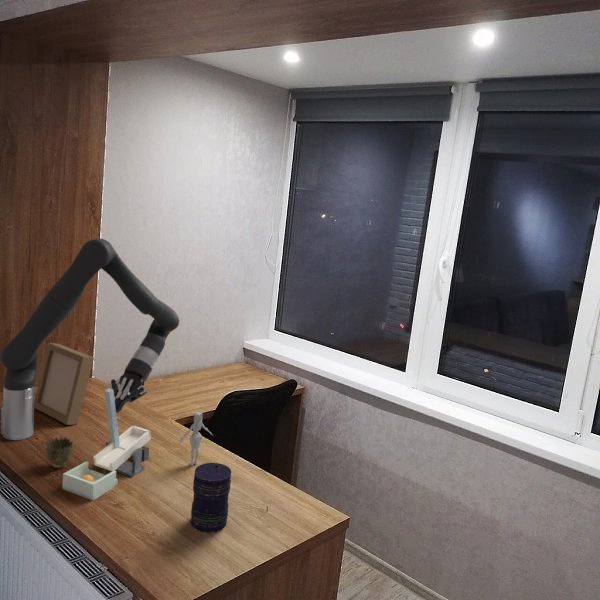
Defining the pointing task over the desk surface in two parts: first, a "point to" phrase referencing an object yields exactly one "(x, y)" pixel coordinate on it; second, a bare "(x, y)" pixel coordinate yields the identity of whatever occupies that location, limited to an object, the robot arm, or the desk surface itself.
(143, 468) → the stand
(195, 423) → the human figurine
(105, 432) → the desk surface
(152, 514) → the desk surface
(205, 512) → the dark blue ridged cylinder
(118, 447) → the lever
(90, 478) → the ball
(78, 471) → the tray
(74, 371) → the photo frame
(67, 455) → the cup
